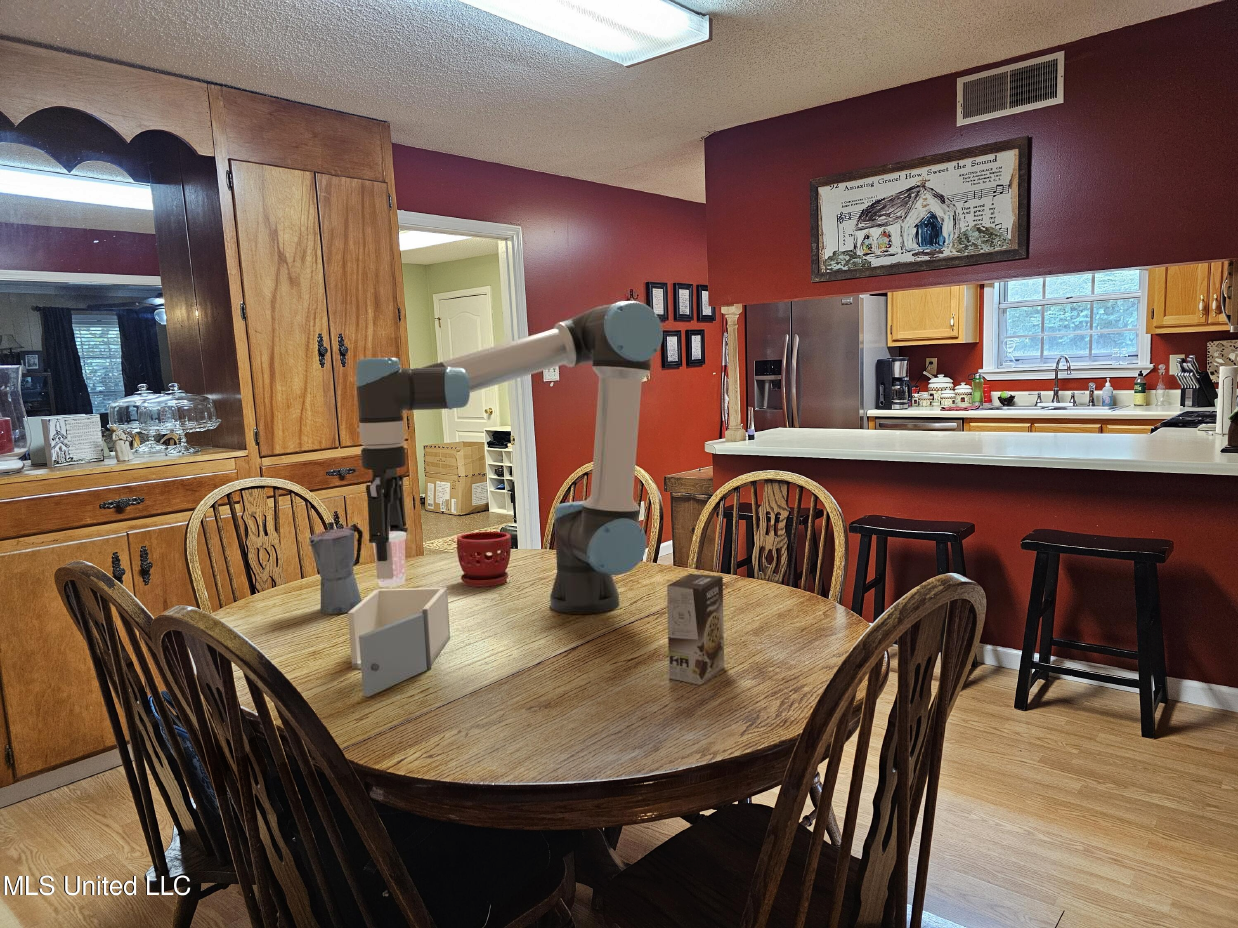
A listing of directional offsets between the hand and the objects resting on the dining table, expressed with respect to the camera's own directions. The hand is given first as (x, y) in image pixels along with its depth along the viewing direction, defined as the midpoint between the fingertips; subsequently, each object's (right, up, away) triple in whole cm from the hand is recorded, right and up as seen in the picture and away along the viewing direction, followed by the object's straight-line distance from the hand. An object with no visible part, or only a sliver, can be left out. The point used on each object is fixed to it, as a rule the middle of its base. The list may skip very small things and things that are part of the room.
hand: (391, 572), depth 144 cm
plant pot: (+8, -10, +54) cm, 55 cm away
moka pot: (-21, -13, +36) cm, 44 cm away
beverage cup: (0, -2, 0) cm, 2 cm away
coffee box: (+54, -16, -9) cm, 57 cm away
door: (+4, -17, -10) cm, 20 cm away
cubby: (+1, -16, +5) cm, 17 cm away
